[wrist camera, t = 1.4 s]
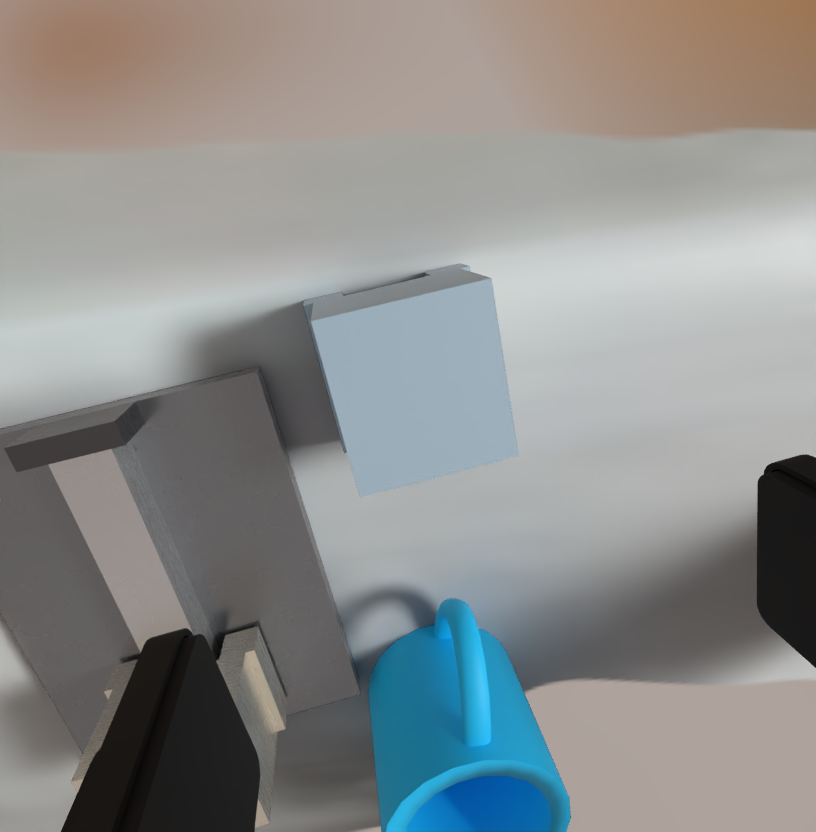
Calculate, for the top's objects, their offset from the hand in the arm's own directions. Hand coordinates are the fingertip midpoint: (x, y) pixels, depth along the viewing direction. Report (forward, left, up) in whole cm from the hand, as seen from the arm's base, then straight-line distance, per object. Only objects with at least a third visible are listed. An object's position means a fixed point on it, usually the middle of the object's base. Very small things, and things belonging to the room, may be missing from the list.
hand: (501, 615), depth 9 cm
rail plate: (+12, +8, -17) cm, 22 cm away
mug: (+1, +17, -17) cm, 24 cm away
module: (-1, 0, -17) cm, 17 cm away
